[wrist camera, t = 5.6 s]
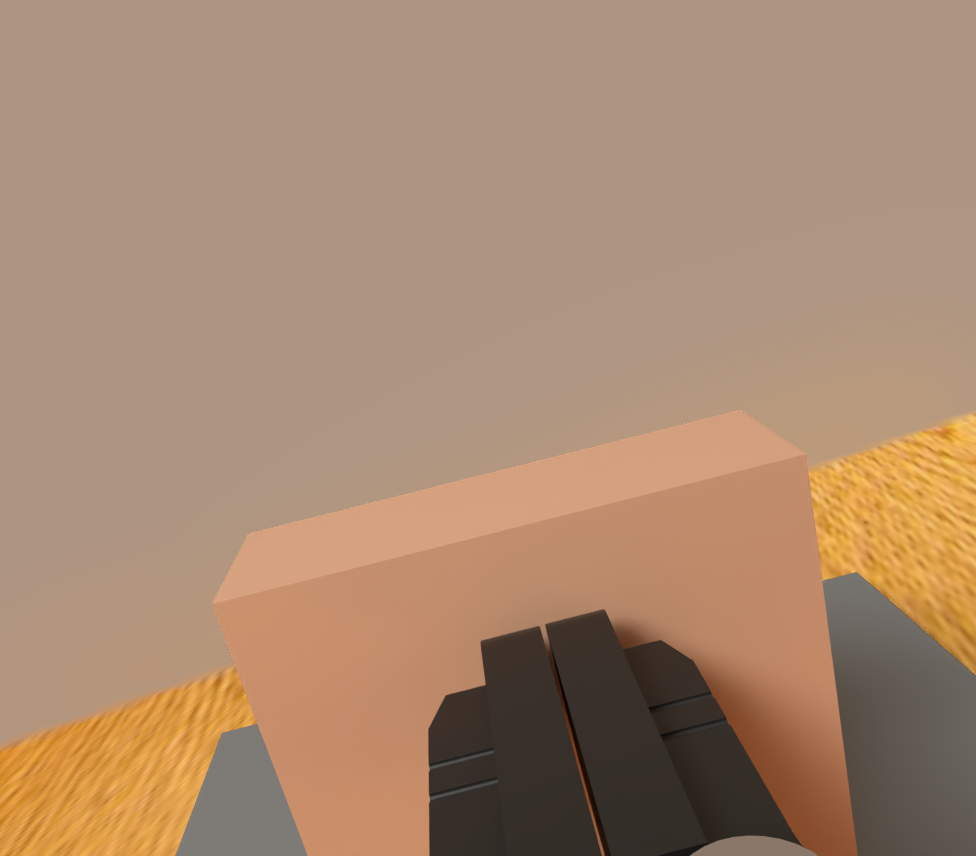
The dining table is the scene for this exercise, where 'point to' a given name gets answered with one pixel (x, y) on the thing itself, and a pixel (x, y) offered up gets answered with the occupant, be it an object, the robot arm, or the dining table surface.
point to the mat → (865, 731)
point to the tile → (540, 618)
